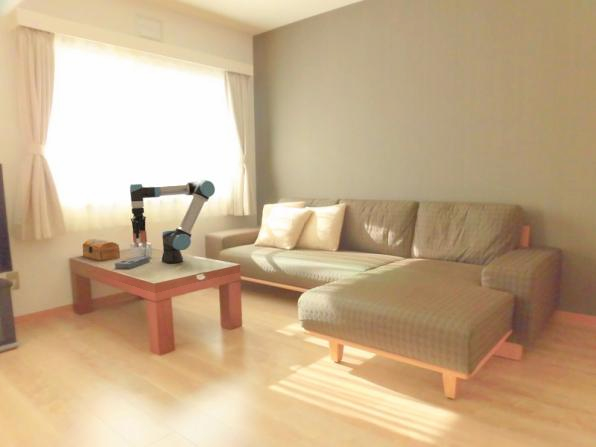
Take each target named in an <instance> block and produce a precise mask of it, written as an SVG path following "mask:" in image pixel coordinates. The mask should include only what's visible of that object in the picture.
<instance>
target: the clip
mask: <svg viewBox="0 0 596 447" xmlns="http://www.w3.org/2000/svg"><path fill="white" fill-rule="evenodd" d="M139 233H140V237H141V243H142V248H145V247H147V243H146V242H148V239H147V230H145V231H140V230H139ZM132 238H133V240H132V243H134V247H139V243H137V241H136V234H134V233H133V232H132Z"/></svg>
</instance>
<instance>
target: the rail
mask: <svg viewBox="0 0 596 447" xmlns="http://www.w3.org/2000/svg"><path fill="white" fill-rule="evenodd" d="M150 259H151V257H146V256H145V257H144V256H142V257H138V256H136V257H130V258H127V259H125V260H121V261H119V262H115V263H114V268H115V269H119V270H121V269H123V270H130V269H133V268H135V267H138V266H141V265H145V264H147V263H149V262H150V261H151V260H150Z"/></svg>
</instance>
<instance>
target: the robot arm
mask: <svg viewBox="0 0 596 447" xmlns="http://www.w3.org/2000/svg"><path fill="white" fill-rule="evenodd" d="M129 192H130V201H131V204H130V205H131V214H133V216H132V217H133V218H130V221H131V225H132V234H133V233H134V234H136V241H137V243H141V237H140V233H139V231H146V219H147V217H146V216H144V213H145V208H144V206H145V205H144V199H146V198H147V199H149V198H151V199H153V198H159V197H161V196H163V197H164V196H178V195H185V196H193V198H192V200H191V202H190V203H189V206H188V208H187V210H186V212H185V215H184V216H183V218H182V221H181V223H180V225H179V226H178V227H177V228H175V229H174V230H164V231H163V232H162V234H161V235H162V236H161V238H162V248H163V252H162V257H161V262H162V263H164V264H177V263H182V262H183V261H184V257H183V255H182V252H181V251H185V250H187V249H189V247H190V246H191V244H192V240H191V237H192V230H193V228H194V225H195V224H196V222H197V219H198V217H199V215H200V213H201V211H202V209H203V207H204V204H205V203H206V202H208V201H209V199H210V198H211V197H212V196H213V195H214V194H215V192H216V188H215V185H214V183H213V182H211V181H210V180H206V179H203V180H193V181H187V182H184V183H179V184H176V183H175V184H160V185H142V183H133V184H130V186H129Z"/></svg>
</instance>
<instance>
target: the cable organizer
mask: <svg viewBox="0 0 596 447" xmlns="http://www.w3.org/2000/svg"><path fill="white" fill-rule="evenodd" d="M146 243H147V247H145V248H142V243H139V247H134V243H133V242H132V243H129V245H130V246H129V247H130V256H131V257H130V258H133V257H136V256H138V257H150V258H151V257H153V251H152V250H153V248H152V243H151V242H148V241H147V242H146Z"/></svg>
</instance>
